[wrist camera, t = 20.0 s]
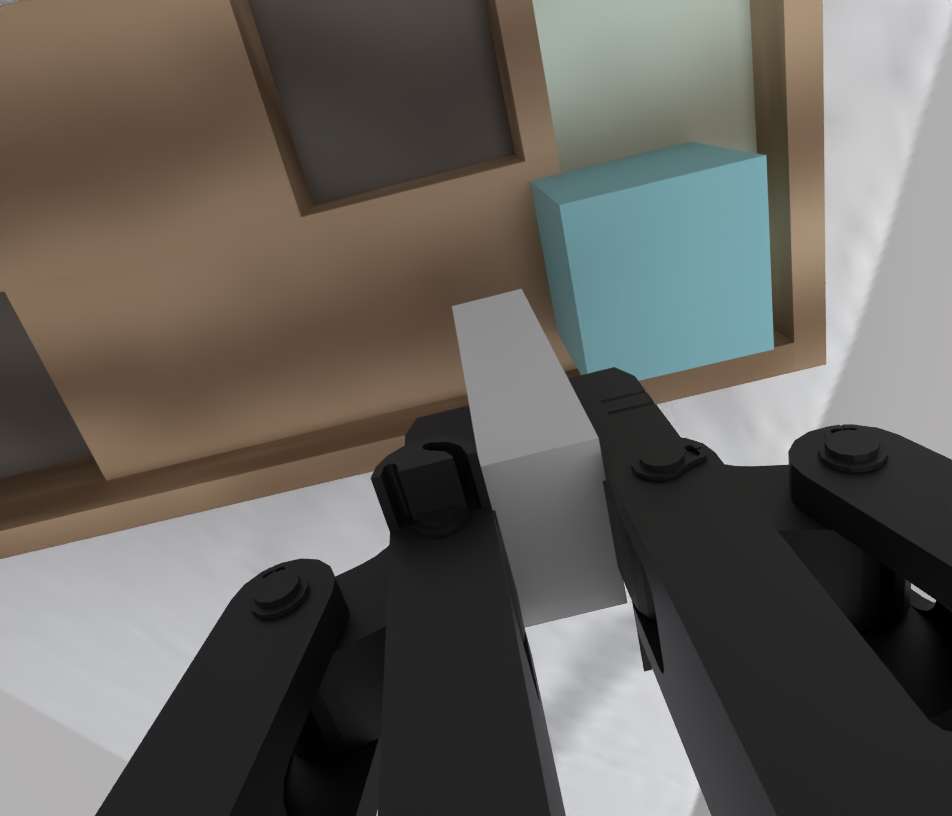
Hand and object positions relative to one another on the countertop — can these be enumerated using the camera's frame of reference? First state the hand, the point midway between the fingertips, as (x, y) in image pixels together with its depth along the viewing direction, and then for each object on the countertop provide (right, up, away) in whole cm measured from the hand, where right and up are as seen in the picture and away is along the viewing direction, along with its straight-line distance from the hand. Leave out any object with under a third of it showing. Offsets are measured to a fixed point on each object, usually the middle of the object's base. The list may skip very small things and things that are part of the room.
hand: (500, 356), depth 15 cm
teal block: (+4, +4, +7) cm, 9 cm away
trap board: (-8, +5, +9) cm, 13 cm away
